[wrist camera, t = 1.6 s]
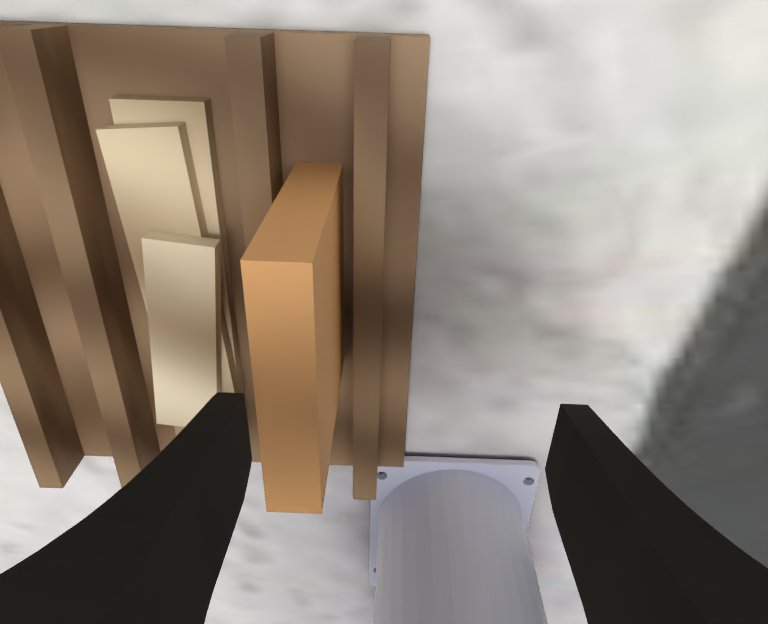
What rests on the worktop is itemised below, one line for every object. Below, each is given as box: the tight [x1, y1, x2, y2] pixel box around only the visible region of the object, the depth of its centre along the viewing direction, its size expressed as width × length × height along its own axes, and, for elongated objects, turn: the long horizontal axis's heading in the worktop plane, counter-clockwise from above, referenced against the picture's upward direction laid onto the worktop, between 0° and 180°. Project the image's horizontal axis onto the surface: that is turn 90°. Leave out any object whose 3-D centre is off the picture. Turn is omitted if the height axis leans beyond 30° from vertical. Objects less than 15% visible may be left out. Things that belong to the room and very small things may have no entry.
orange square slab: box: [240, 162, 344, 514], centre depth 18 cm, size 8×2×8 cm, turn 178°
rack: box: [0, 21, 430, 500], centre depth 22 cm, size 18×16×3 cm
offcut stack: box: [96, 95, 249, 436], centre depth 21 cm, size 14×4×2 cm, turn 178°
